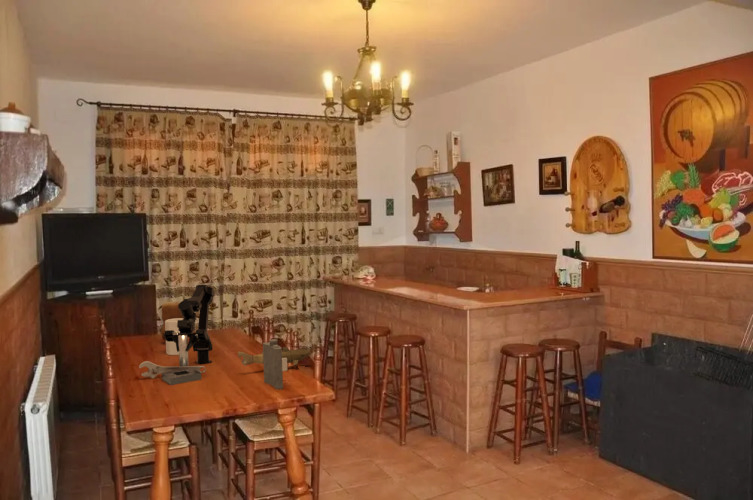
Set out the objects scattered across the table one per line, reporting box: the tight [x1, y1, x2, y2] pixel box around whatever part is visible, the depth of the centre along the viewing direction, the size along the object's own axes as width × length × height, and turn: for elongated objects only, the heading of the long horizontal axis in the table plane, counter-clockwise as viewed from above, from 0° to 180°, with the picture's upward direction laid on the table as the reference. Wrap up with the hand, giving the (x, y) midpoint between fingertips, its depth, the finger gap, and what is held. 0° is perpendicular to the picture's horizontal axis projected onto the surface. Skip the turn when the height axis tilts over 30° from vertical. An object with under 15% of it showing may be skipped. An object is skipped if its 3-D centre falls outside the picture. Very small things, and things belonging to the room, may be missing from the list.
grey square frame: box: [161, 368, 202, 386], centre depth 272 cm, size 12×14×3 cm
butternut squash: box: [161, 301, 184, 342], centre depth 354 cm, size 14×13×25 cm
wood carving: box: [237, 346, 311, 372], centre depth 285 cm, size 9×35×11 cm, turn 114°
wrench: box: [138, 360, 207, 380], centre depth 280 cm, size 8×2×30 cm
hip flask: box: [262, 338, 284, 390], centre depth 260 cm, size 16×4×20 cm, turn 33°
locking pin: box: [178, 334, 190, 367], centre depth 272 cm, size 4×4×14 cm
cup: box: [165, 318, 183, 356], centre depth 327 cm, size 11×11×18 cm
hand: (182, 351), depth 271 cm, fingers closed on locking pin, 4 cm apart
